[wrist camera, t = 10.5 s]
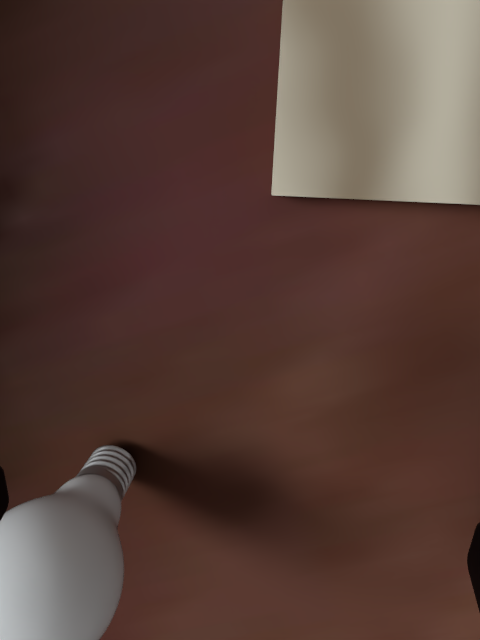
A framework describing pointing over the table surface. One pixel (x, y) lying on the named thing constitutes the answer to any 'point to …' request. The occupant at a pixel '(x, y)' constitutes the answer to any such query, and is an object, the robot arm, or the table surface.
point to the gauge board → (379, 101)
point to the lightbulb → (66, 555)
